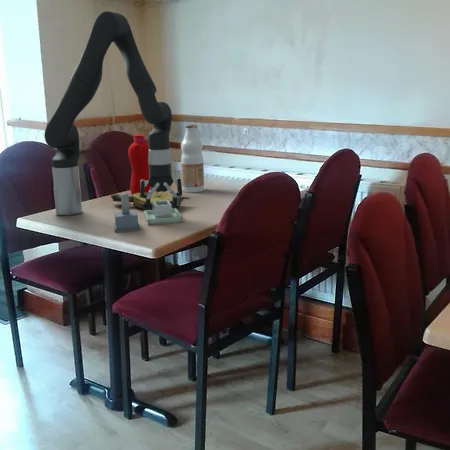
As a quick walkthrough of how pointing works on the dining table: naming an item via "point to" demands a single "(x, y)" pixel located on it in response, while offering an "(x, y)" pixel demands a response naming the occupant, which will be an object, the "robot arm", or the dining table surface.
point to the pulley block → (155, 197)
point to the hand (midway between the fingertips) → (161, 208)
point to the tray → (150, 218)
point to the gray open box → (162, 209)
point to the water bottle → (139, 163)
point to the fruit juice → (192, 161)
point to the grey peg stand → (126, 217)
